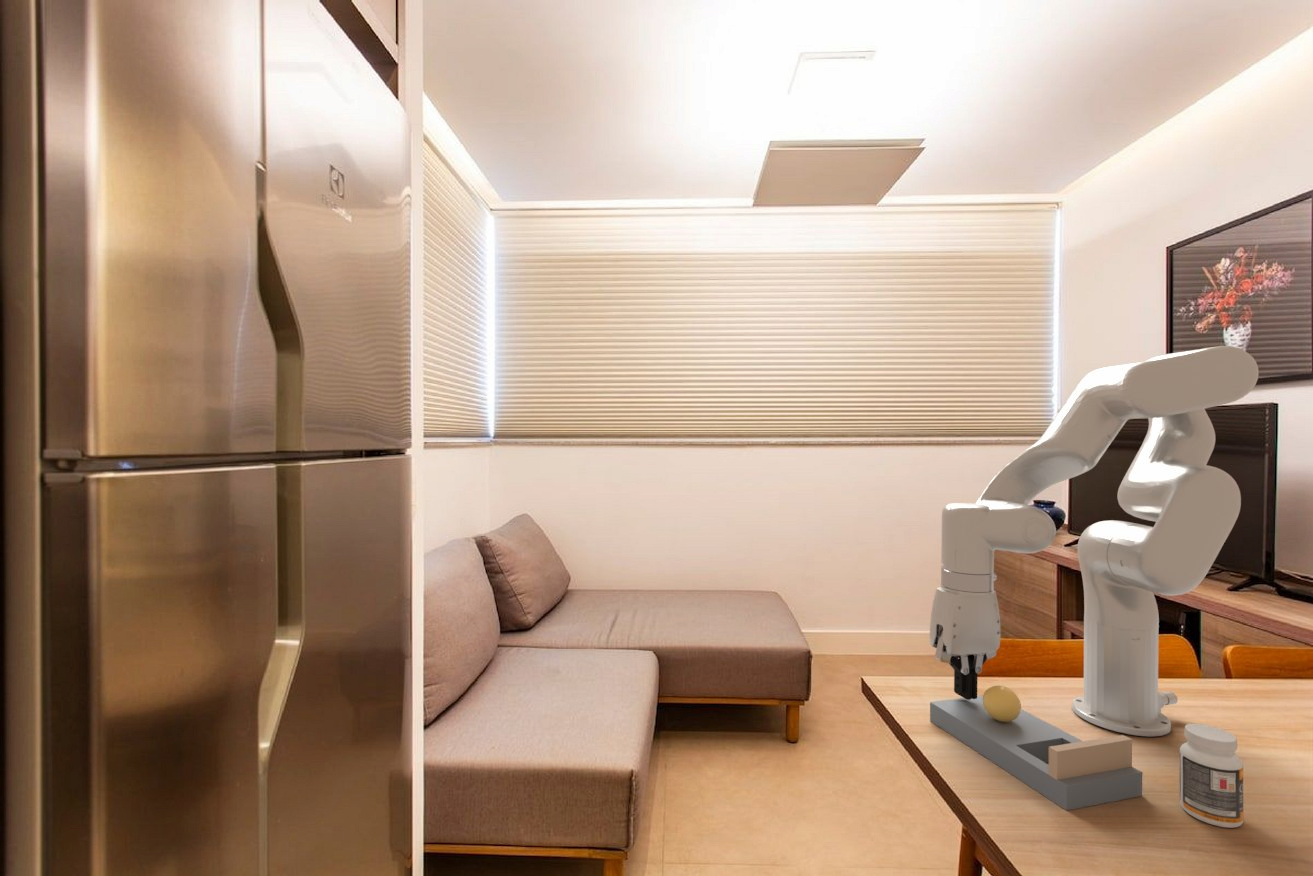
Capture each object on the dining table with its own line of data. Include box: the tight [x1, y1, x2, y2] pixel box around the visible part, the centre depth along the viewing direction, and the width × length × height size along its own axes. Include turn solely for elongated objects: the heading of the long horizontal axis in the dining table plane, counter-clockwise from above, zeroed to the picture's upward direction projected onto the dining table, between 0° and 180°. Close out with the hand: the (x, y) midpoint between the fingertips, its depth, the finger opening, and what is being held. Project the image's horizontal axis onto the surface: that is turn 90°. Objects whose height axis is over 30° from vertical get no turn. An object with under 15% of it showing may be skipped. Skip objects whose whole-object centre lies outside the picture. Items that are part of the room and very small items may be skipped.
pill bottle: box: [1179, 723, 1244, 829], centre depth 73 cm, size 6×6×10 cm
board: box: [929, 694, 1143, 811], centre depth 87 cm, size 12×24×6 cm, turn 15°
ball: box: [983, 685, 1022, 722], centre depth 91 cm, size 5×5×5 cm
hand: (965, 695), depth 98 cm, fingers closed
